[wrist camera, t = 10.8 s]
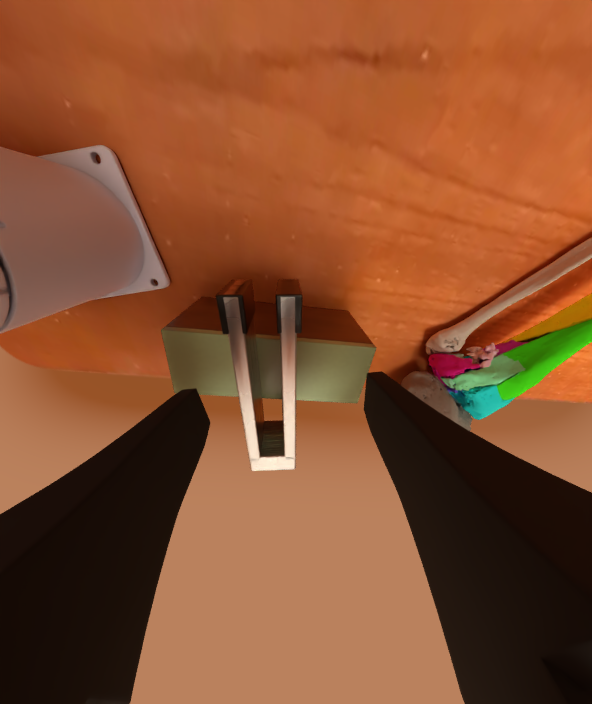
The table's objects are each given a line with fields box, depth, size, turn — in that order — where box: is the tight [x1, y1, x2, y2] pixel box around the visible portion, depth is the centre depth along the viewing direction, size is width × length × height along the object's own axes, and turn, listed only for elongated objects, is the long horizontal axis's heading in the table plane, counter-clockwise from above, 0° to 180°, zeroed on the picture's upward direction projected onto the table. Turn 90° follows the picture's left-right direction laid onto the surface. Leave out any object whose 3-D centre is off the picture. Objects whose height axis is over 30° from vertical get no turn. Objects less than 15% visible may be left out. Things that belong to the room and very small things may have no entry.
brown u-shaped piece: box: [216, 279, 302, 471], centre depth 12 cm, size 11×3×3 cm, turn 0°
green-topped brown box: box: [161, 296, 376, 403], centre depth 16 cm, size 12×4×6 cm, turn 83°
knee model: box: [401, 237, 592, 431], centre depth 17 cm, size 9×8×25 cm
